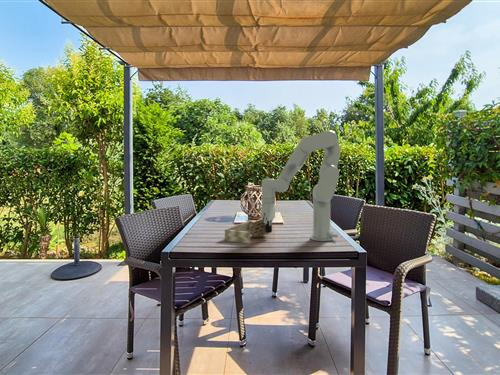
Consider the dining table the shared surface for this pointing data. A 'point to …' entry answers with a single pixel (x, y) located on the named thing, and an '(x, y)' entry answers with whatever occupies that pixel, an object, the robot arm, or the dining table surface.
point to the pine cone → (256, 228)
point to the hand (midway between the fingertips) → (268, 232)
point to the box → (239, 233)
